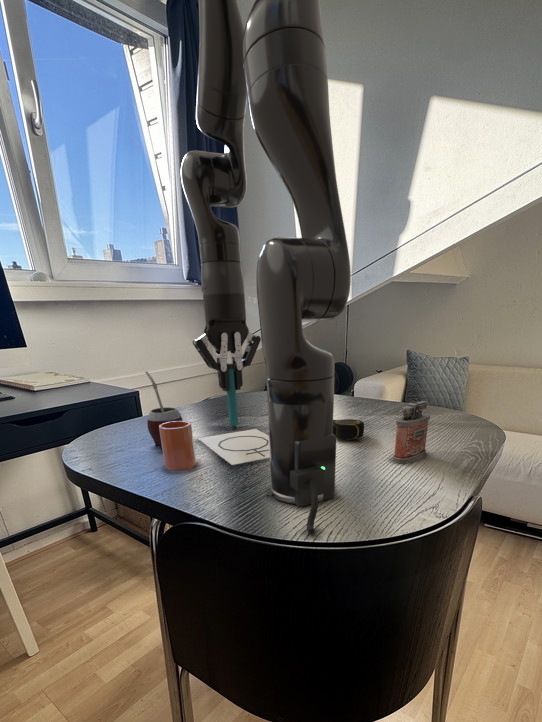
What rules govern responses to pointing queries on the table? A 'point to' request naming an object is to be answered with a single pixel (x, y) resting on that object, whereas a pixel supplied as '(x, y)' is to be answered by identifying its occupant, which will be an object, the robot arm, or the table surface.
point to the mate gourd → (160, 417)
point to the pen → (232, 397)
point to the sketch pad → (240, 446)
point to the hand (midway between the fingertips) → (231, 389)
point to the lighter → (411, 433)
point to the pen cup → (177, 445)
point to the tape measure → (348, 429)
